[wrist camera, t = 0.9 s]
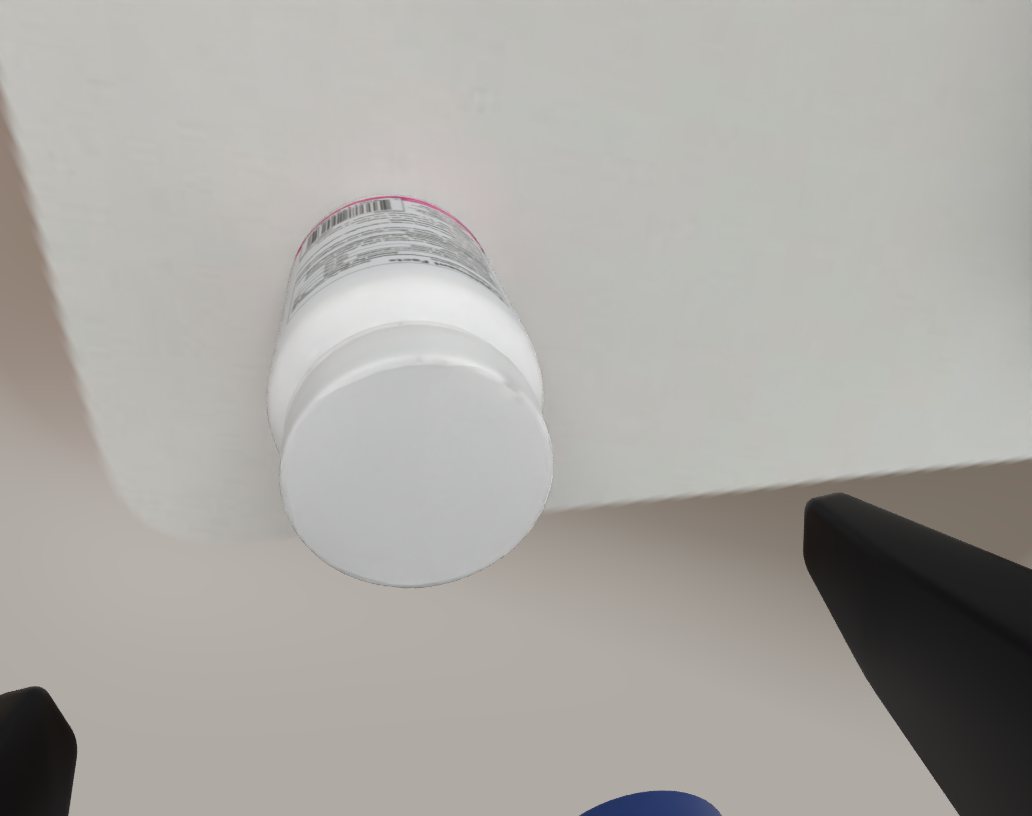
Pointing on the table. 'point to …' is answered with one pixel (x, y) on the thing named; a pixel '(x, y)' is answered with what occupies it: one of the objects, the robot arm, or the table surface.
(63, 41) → the table surface
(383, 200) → the pill bottle
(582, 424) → the table surface
